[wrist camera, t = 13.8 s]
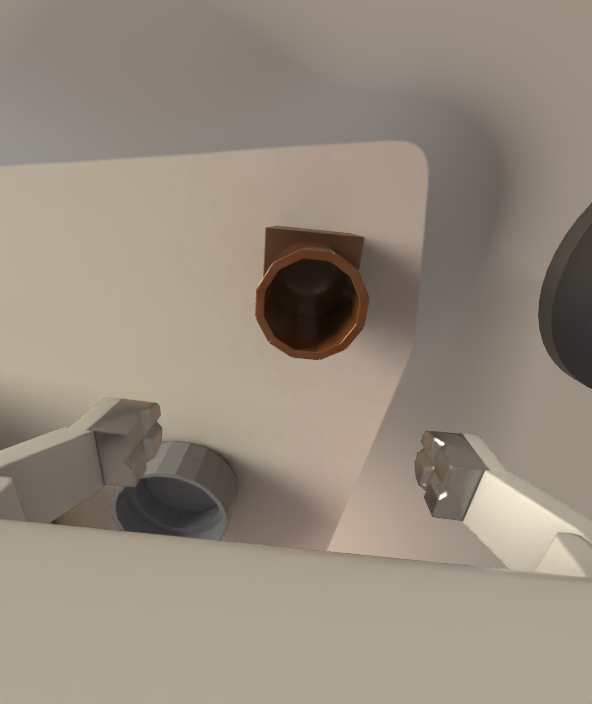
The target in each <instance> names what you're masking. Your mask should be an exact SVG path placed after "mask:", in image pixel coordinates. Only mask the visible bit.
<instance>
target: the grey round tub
mask: <svg viewBox="0 0 592 704" xmlns="http://www.w3.org/2000/svg"><path fill="white" fill-rule="evenodd" d="M146 467H147V470H146V471H145V473H144V474H143V476H142V477H141V479H140V480H139V482H138V484H137V485H136V487H124V486H118V488H117V489H116V491H115V492H114V494H113V498H112V502H111V511H112V516H113V520H114V521H115V523H116V524H117V526H118V527H119V529H120V531H128V532H138V533H148V534H158V535H168V536H178V537H188V538H198V539H209V540H219V541H221V540H222V538H223V536H224V534H225V532H226V530H227V527H228V523H229V519H230V515H231V511H232V507H233V504H234V500H235V496H236V480H235V477H234V475H233V472H232V470H231V468H230V467H229V466H228V465H227V464H226V462H225V461H224V460H223V459H222V458H221V457H220V456H218V455H217V454H215V453H214V452H212V451H211V450H209V449H207V448H205V447H202V446H199V445H196V444H193V443H186V442H168V443H162V444H161V445H160V448H159V451H158V453H157V454H156V456H155V458H154V459H152V460H150V461H148V462H147V463H146Z"/></svg>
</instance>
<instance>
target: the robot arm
mask: <svg viewBox="0 0 592 704" xmlns="http://www.w3.org/2000/svg"><path fill="white" fill-rule="evenodd" d="M160 416H161V413H160V406H159V405H158V404H157V403H153V402H145V401H137V400H129V399H121V398H110V397H108V398H104V399H102V400H101V401H100V402H99V403H98V404H97V405H95V406H94V407H93V408H92V409H91V410H89V411H88V412H87V413H86V414H85V415H84V416H82V417H81V418H80V419H79V420H78V421H77V422H75V423H74V424H73V425H72V426H71V427H69V428H61V429H58V430H55V431H53V432H50V433H47V434H44V435H42V436H39V437H36V438H33V439H31V440H28V441H25V442H22V443H20V444H17V445H14V446H11V447H9V448H6V449H3V450H0V704H592V520H591V519H590V518H588V517H586V516H585V515H583V514H581V513H579V512H578V511H576V510H575V509H573V508H572V507H570V506H568V505H566V504H565V503H563V502H562V501H560V500H558V499H557V498H555V497H553V496H552V495H550V494H548V493H547V492H545V491H543V490H542V489H540V488H538V487H537V486H535V485H534V484H532V483H530V482H528V481H527V480H525V479H524V478H522V477H520V476H519V475H517V474H515V473H509V471H508V470H507V469H506V468H505V466H504V465H503V464H502V463H501V462H500V460H499V459H498V458H497V457H496V455H495V454H494V453H493V452H492V450H491V449H490V448H489V447H488V446H487V444H486V443H485V442H484V441H483V440H482V438H481V437H480V436H478V435H476V434H464V433H448V432H436V431H425V433H424V434H423V436H422V439H421V443H422V445H423V447H424V448H423V449H422V450H421V451H419V452H418V453H417V455H416V459H415V475H416V479H417V482H418V484H419V486H421V487H422V488H423V489H424V490H425V491H426V493H425V496H424V499H425V501H426V503H427V506H428V508H429V510H430V513H431V515H432V517H436V518H443V519H451V520H459V521H463V523H464V524H465V525H466V526H467V527H468V528H469V529H470V530H471V531H472V532H473V533H474V534H475V535H476V536H477V537H478V538H479V539H480V540H481V541H482V542H483V543H484V544H485V545H486V546H487V547H488V548H489V549H490V550H491V551H492V552H493V553H494V554H495V555H496V556H497V557H498V558H499V559H500V560H501V561H502V562H503V563H504V564H505V565H506V566H507V567H508V568H509V569H500V568H490V567H479V566H468V565H458V564H448V563H438V562H428V561H419V560H409V559H399V558H389V557H379V556H369V555H360V554H350V553H338V552H330V551H320V550H310V549H300V548H289V547H279V546H269V545H259V544H249V543H239V542H229V541H219V540H209V539H198V538H188V537H178V536H168V535H158V534H148V533H138V532H128V531H118V530H108V529H98V528H88V527H78V526H68V525H58V524H49V523H51V522H52V521H54V520H55V519H57V518H58V517H59V516H61V515H62V514H64V513H65V512H67V511H68V510H70V509H71V508H73V507H74V506H76V505H77V504H79V503H80V502H82V501H83V500H85V499H86V498H88V497H89V496H91V495H92V494H94V493H95V492H97V491H98V490H100V489H101V488H103V487H104V485H110V486H124V487H136V485H137V484H138V482H139V480H140V479H141V477H142V476H143V474H144V473H145V471H146V470H147V467H146V463H147V462H148V461H150V460H152V459H154V458H155V456H156V454H157V453H158V451H159V448H160V445H161V442H162V427H161V426H160V425H159V423H158V422H157V420H158V418H159V417H160Z"/></svg>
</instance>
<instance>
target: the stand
mask: <svg viewBox="0 0 592 704" xmlns="http://www.w3.org/2000/svg"><path fill="white" fill-rule="evenodd" d="M301 241H317V242H324V243H327V244H328V245H329V246H331V247H332V248H333V249H335V250H336V251H337V252H338V253H340V254H341V255H342V256H343V257H345V258H346V259H347V260H348V261H349V262H350V263H351V264H352V265H353V266H354V267H355V268H356V269H357V270H358V271H359V266H360V260H361V254H362V248H363V242H364V237H362V236H358V235H354V234H350V233H342V232H331V231H321V230H311V229H301V228H291V227H281V226H273V227H266V231H265V252H264V272H263V277H264V275H265V274H266V272H267V271H268V269H269V268H270V266H271V265H272V263H273V262H274V261H275V260H276V258H277V257H278V256H279V255H280V253H281V252H282V251H283V250H284V249H286V248H288V247H290V246H292V245H294V244H296V243H299V242H301Z"/></svg>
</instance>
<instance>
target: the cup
mask: <svg viewBox="0 0 592 704" xmlns="http://www.w3.org/2000/svg"><path fill="white" fill-rule="evenodd" d="M368 304H369V296H368V294H367V291H366V288H365V286H364V283H363V281H362V278H361V275H360V273H359V271H358V270H357V269H356V268H355V267H354V266H353V265H352V264H351V263H350V262H349V261H348V260H347V259H346V258H345V257H343V256H342V255H341V254H340V253H338V252H337V251H336V250H335V249H333V248H332V247H331V246H329V245H328V244H327V243H324V242H317V241H301V242H299V243H296V244H294V245H292V246H290V247H288V248H286V249H284V250H283V251H282V252H281V253H280V255H279V256H278V257H277V258H276V260H275V261H274V262H273V263H272V265H271V266H270V268H269V269H268V271H267V272H266V274H265V275H264V277H263V279H262V280H261V282H260V283H259V285H258V286H257V289H256V309H255V316H256V320H257V322H258V323H259V325H260V327H261V329H262V331H263V333H264V335H265V337H266V339H267V340H268V341H269V343H270V344H272V345H273V346H275V347H277V348H278V349H280V350H281V351H283V352H284V353H286V354H287V355H289V356H290V357H293V358H303V359H313V360H319V359H320V360H321V359H323V358H326V357H328V356H331V355H333V354H336V353H338V352H341V351H343V350H345V349H346V348H347V347H348V346H349V345H350V344H351V343H352V341H353V340H354V339H355V338H356V337H357V335H358V334H359V333H360V332H361V331H362V329H363V327H364V325H365V320H366V314H367V309H368Z"/></svg>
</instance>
